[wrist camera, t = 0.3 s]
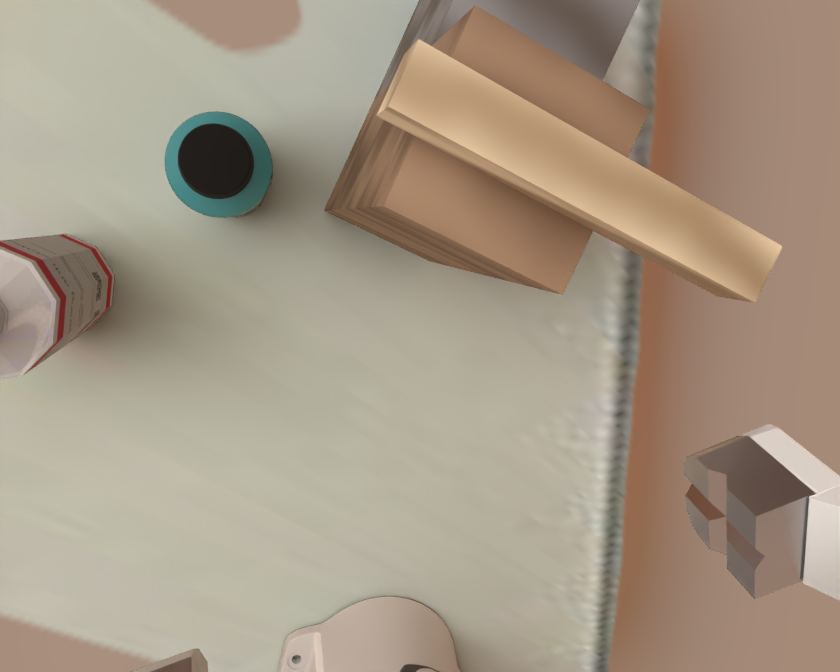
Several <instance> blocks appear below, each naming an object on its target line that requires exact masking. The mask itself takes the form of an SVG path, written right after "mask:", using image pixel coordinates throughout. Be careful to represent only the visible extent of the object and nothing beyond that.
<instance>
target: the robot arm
mask: <svg viewBox="0 0 840 672" xmlns="http://www.w3.org/2000/svg"><path fill="white" fill-rule="evenodd" d="M684 475H685V476H686V477H687V478H688V479H689V480H690V481H691V483H692V484H691V486H690V488H689V490H688V492H687V493H686V496H685V498H686V508H687V512H688V515H689V518H690V520H691V523H692V525H693V527H694V529H695V530H696V532H697V534H698V535H699V537H700V538H701V539H702V540H703V542H704V543H705V544H706V545H707V546H708V547H709V549H712V550H714V551H717V552H720V553H722V554H725V555H727V569H728V570H729V571H730V572H731V573H732V575H733V576H734V577H735V578H736V579H737V580H738V581H739V582H740V583H741V585H742V586H743V587H744V588H745V589H746V590H747V591H748V592H749V594H750V595H751V596H752V597H753V598H754V599H756V598H759V597H761V596H764V595H767V594H769V593H772V592H774V591H777V590H780V589H782V588H785V587H787V586H790V585H792V584H795V583H797V582H800V581H803V583H804V584H806V585H808V586H810V587H812V588H814V589H816V590H819V591H821V592H823V593H825V594H827V595H829V596H831V597H833V598H835V599H838V600H840V476H839V475H838V474H836V473H835V472H834V471H833V470H831V469H830V468H829V467H828V466H826V465H825V464H824V463H823V462H821V461H820V460H819V459H817V458H816V457H815V456H814V455H812V454H811V453H809V451H807V450H806V449H805V448H803V447H802V446H801V445H800V444H798V443H797V442H796V441H795V440H793V439H792V438H791V437H789V436H788V435H787V434H786V433H784V432H783V431H782V430H780V429H779V428H778V427H777V426H774V425H771V424H767V425H765V426H762V427H760V428H757V429H755V430H752V431H749V432H747V433H744V434H742V435H741V436H736V437H734V438H732V439H729V440H726V441H724V442H721V443H719V444H717V445H714V446H711V447H709V448H707V449H704V450H702V451H699V452H697V453H694V454H692V455H689V456H687V457H686V460H685V462H684ZM295 655H299V656H300V658H298V659H293V658H292V657H293V656H295ZM131 672H208V662H207V660H206V659H205V657H204V656H203V654H202V653H201V651H200V650H199V649H192V650H189V651H186V652H183V653H181V654H178V655H175V656H172V657H169V658H167V659H164V660H161V661H158V662H156V663H153V664H150V665H147V666H145V667H142V668H139V669H136V670H134V671H131ZM278 672H461V671H460V669H459V668H458V665H457V661H456V655H455V649H454V644H453V640H452V637H451V634H450V632H449V630H448V628H447V627H446V625H445V624H444V622H443V621H442V620H441V618H440V617H439V616H438V615H437V614H436V613H434V612H433V611H432V610H431V609H429V608H428V607H426V606H424V605H423V604H420V603H418V602H416V601H413V600H410V599H406V598H400V597H377V598H372V599H367V600H364V601H361V602H358V603H355V604H353V605H351V606H349V607H347V608H345V609H343V610H342V611H340V612H339V613H337V614H336V615H334V616H333V617H331V618H330V619H328V620H327V621H325V622H323V623H321V624H317V625H313V626H309V627H305V628H302V629H299V630H296V631H294V632H292V633H291V634H290V635H289V636H288V637H287V639H286V641H285V644H284V648H283V652H282V656H281V661H280V665H279V669H278Z"/></svg>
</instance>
